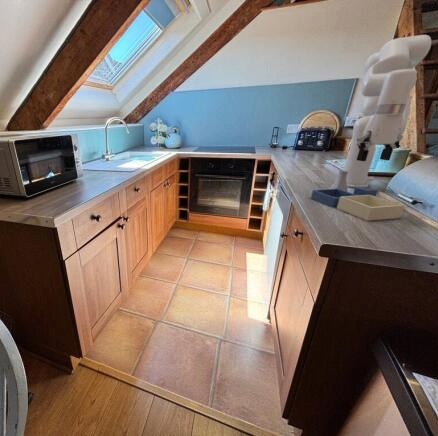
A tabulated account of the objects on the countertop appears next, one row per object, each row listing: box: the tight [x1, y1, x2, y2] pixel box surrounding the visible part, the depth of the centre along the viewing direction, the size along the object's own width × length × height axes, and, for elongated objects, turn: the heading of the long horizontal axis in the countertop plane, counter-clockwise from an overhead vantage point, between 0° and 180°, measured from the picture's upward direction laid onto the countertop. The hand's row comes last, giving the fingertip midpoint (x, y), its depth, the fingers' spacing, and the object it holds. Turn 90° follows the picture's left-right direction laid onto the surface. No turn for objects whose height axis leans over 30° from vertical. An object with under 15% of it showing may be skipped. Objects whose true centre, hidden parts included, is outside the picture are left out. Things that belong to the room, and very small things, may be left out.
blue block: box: [352, 186, 379, 197], centre depth 98 cm, size 5×5×5 cm
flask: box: [328, 169, 349, 192], centre depth 107 cm, size 7×7×10 cm
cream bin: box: [336, 195, 405, 221], centre depth 86 cm, size 12×12×5 cm
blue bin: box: [310, 188, 358, 208], centre depth 98 cm, size 11×11×4 cm
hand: (372, 160), depth 91 cm, fingers open, 9 cm apart
